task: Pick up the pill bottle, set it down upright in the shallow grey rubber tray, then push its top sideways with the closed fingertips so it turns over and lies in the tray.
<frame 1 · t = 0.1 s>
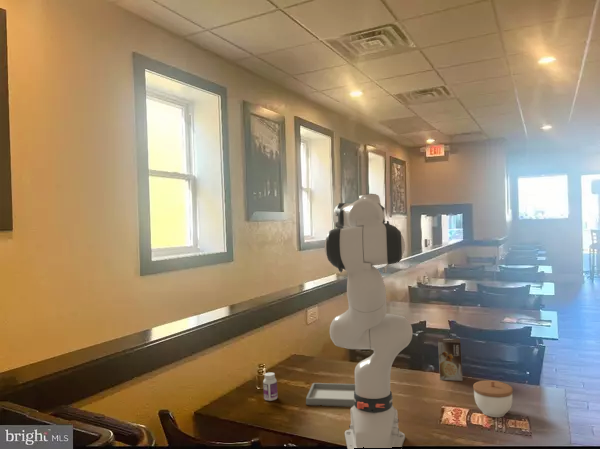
hand: (372, 273, 176), 48 cm above the table, fingers open, 8 cm apart
grey tray: (336, 397, 179), on the table
lidded bowl: (493, 413, 160), on the table
pill bottle: (270, 398, 181), on the table
food box: (450, 378, 195), on the table
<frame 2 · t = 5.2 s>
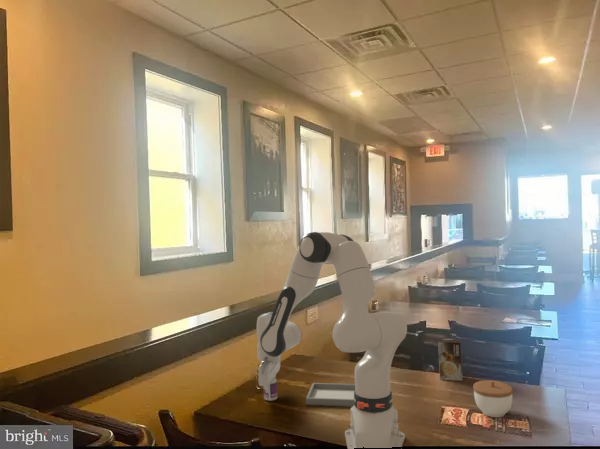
hand: (270, 389, 181), 4 cm above the table, fingers closed on pill bottle, 5 cm apart
pill bottle: (270, 398, 181), on the table, touching gripper
everything else where it was.
when the fingers open (5 cm above the table, at t = 11.3 s): pill bottle stays where it is, resting on grey tray.
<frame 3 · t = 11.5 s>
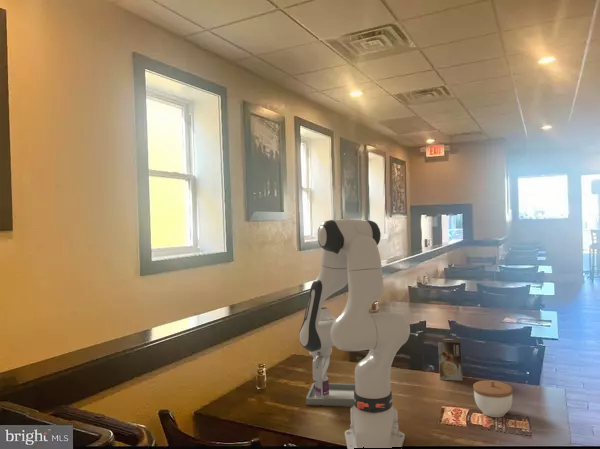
hand: (322, 384, 180), 5 cm above the table, fingers open, 7 cm apart
pill bottle: (322, 396, 180), resting on grey tray
everything else where it was.
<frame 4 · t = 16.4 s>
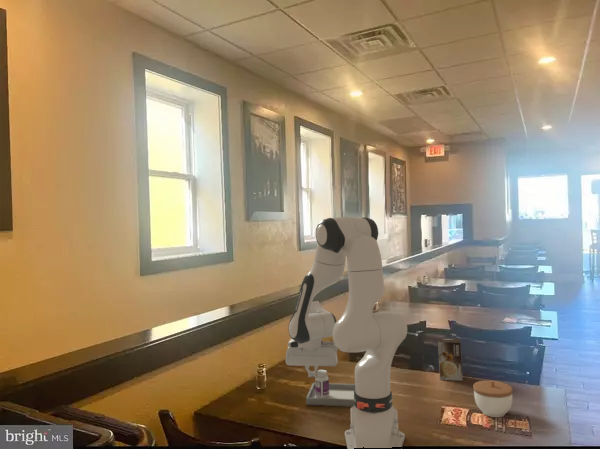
hand: (312, 376, 181), 8 cm above the table, fingers closed
pill bottle: (322, 396, 180), resting on grey tray, touching gripper
everything else where it was.
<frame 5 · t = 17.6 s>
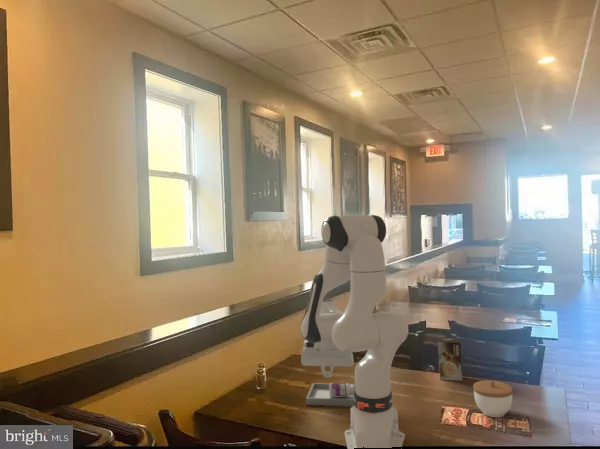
hand: (327, 376, 179), 8 cm above the table, fingers closed
pill bottle: (328, 390, 178), point 3 cm above the table, touching grey tray
everything else where it was.
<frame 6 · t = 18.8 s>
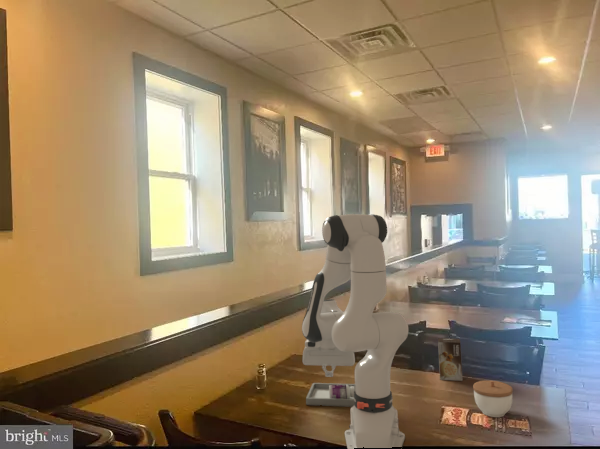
hand: (329, 376, 179), 8 cm above the table, fingers closed
pill bottle: (328, 392, 176), point 3 cm above the table, touching grey tray
everything else where it was.
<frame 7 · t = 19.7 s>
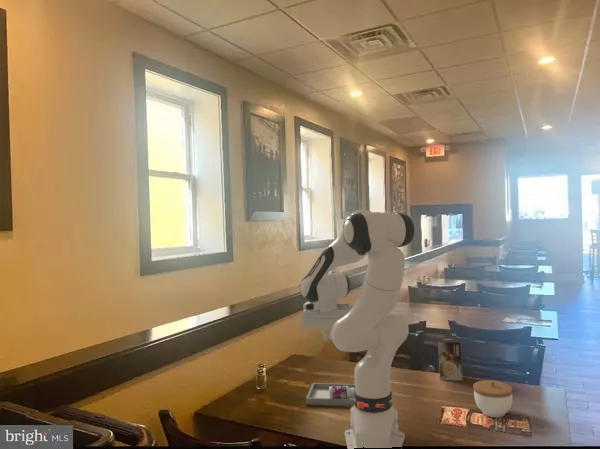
hand: (327, 339, 179), 23 cm above the table, fingers closed
pill bottle: (328, 393, 175), point 3 cm above the table, touching grey tray
everything else where it was.
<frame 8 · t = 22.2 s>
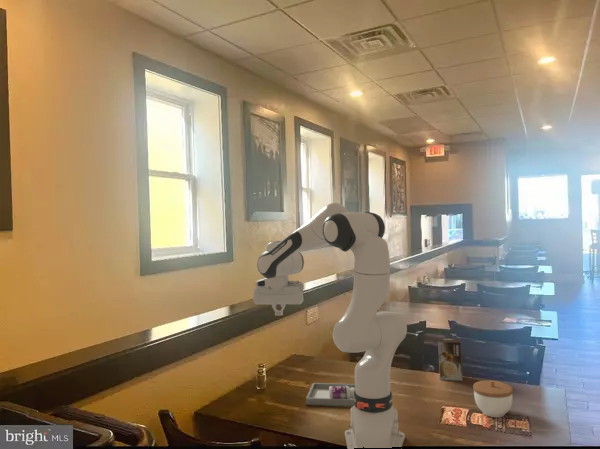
hand: (279, 315, 187), 31 cm above the table, fingers closed
nothing on the table moved.
at the end: pill bottle tilted 90°; pill bottle inside the target area (5.0 cm from its centre), point 3.1 cm above the table; the gripper is holding nothing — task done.
